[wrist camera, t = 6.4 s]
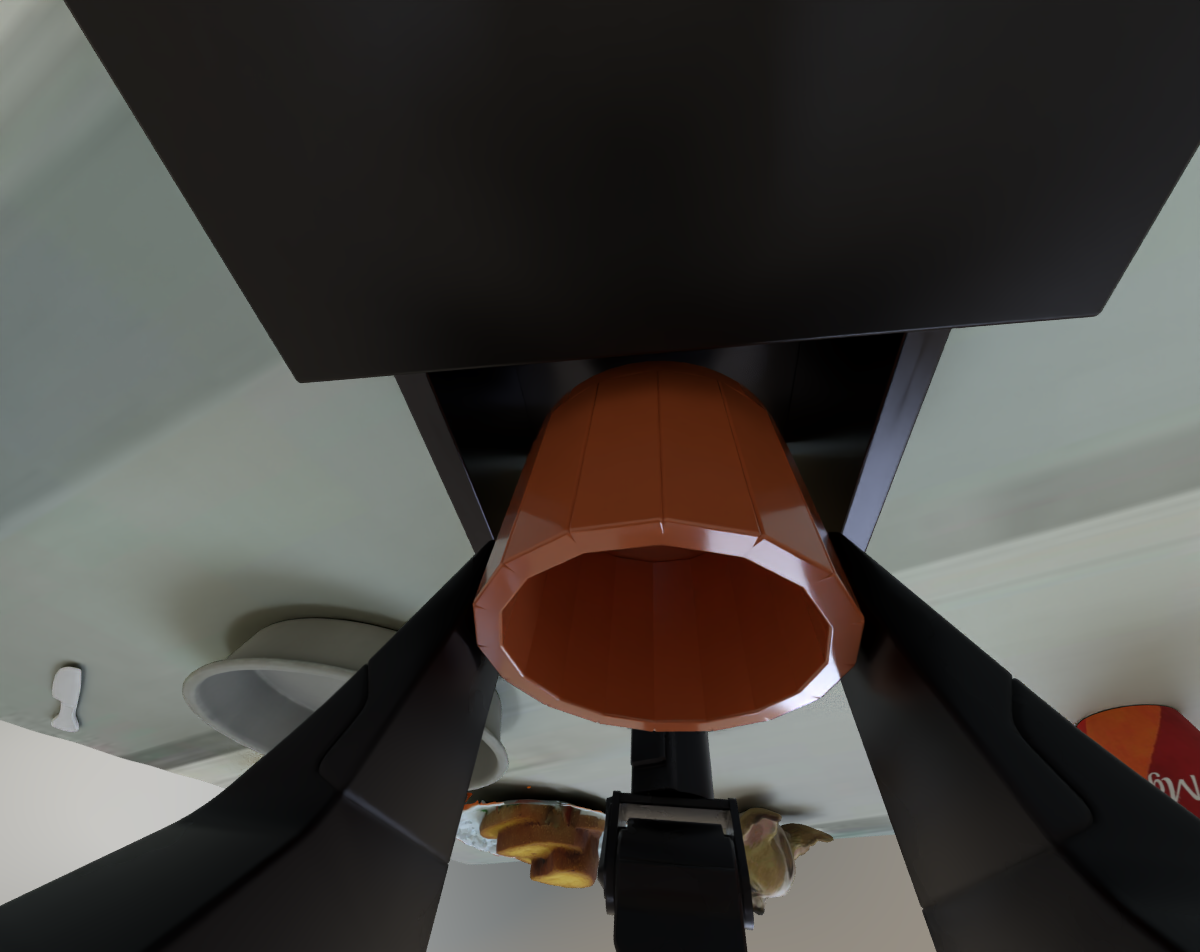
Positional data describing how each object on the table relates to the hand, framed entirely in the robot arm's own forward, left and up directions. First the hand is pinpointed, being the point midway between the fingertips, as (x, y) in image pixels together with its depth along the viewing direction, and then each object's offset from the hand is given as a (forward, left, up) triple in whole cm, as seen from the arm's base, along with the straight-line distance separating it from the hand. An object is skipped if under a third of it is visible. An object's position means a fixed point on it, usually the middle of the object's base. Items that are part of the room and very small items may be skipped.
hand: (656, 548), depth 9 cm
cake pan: (-11, +35, -10) cm, 38 cm away
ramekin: (0, 0, -3) cm, 3 cm away
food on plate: (-46, +47, -10) cm, 67 cm away
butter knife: (+4, +71, -9) cm, 72 cm away
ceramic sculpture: (-53, +21, -10) cm, 58 cm away
